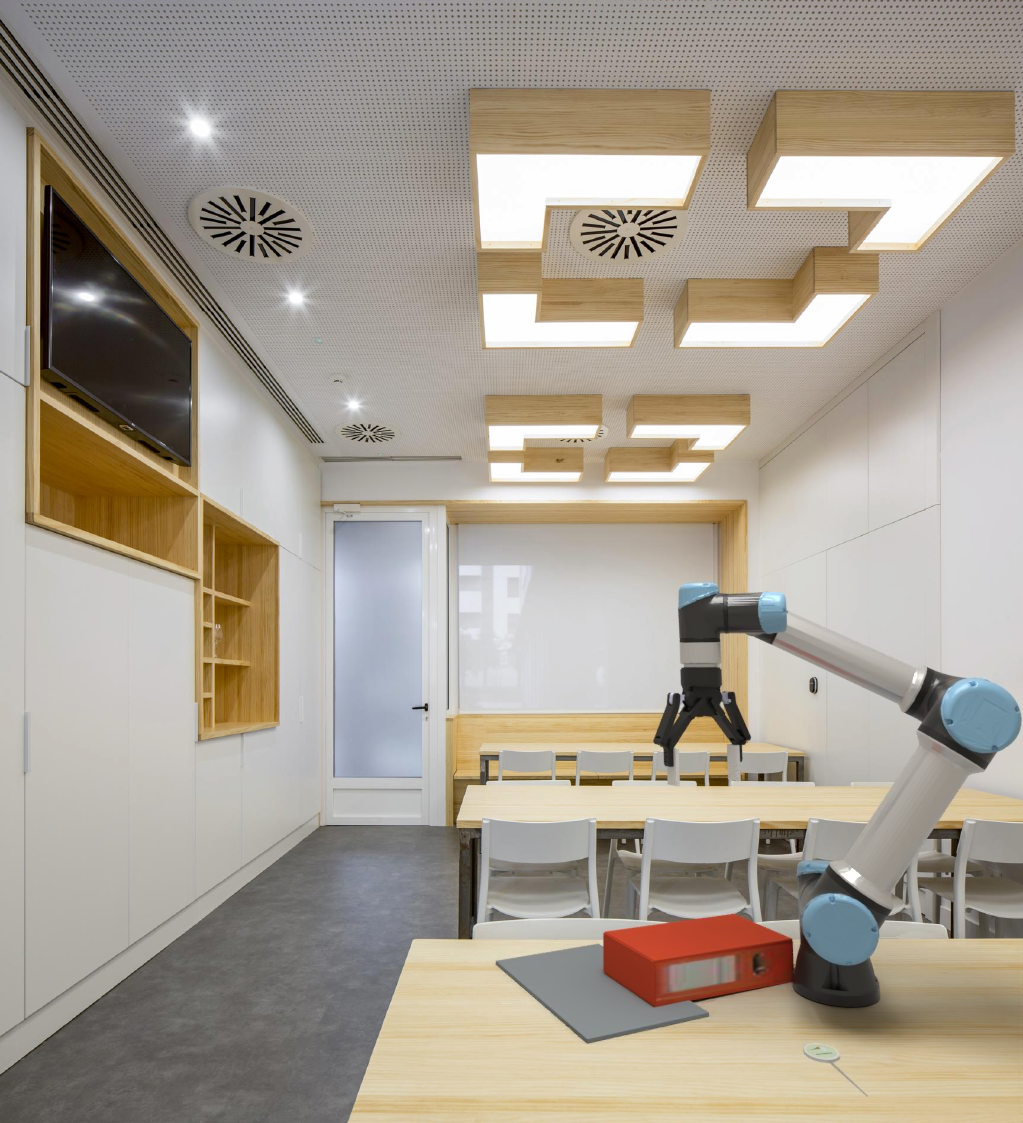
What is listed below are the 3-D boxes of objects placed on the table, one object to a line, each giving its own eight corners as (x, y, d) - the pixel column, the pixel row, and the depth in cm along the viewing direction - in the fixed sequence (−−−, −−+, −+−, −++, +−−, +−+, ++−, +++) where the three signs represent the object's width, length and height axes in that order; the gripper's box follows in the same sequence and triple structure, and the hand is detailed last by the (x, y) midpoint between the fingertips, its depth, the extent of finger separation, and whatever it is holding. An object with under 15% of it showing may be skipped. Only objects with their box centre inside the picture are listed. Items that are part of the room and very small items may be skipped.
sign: (850, 1095, 114) (797, 1044, 129) (850, 1102, 114) (797, 1050, 129) (884, 1092, 115) (828, 1042, 129) (884, 1099, 115) (828, 1047, 129)
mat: (598, 946, 175) (598, 943, 175) (709, 1016, 140) (708, 1012, 140) (495, 963, 165) (495, 960, 165) (587, 1043, 131) (587, 1039, 131)
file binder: (653, 959, 143) (793, 938, 156) (603, 930, 159) (734, 913, 172) (653, 1007, 142) (794, 983, 155) (603, 973, 158) (734, 953, 171)
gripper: (740, 665, 160) (745, 775, 157) (632, 666, 150) (635, 784, 147) (767, 665, 153) (772, 780, 150) (655, 666, 143) (659, 790, 140)
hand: (704, 782), depth 149 cm, fingers open, 13 cm apart
